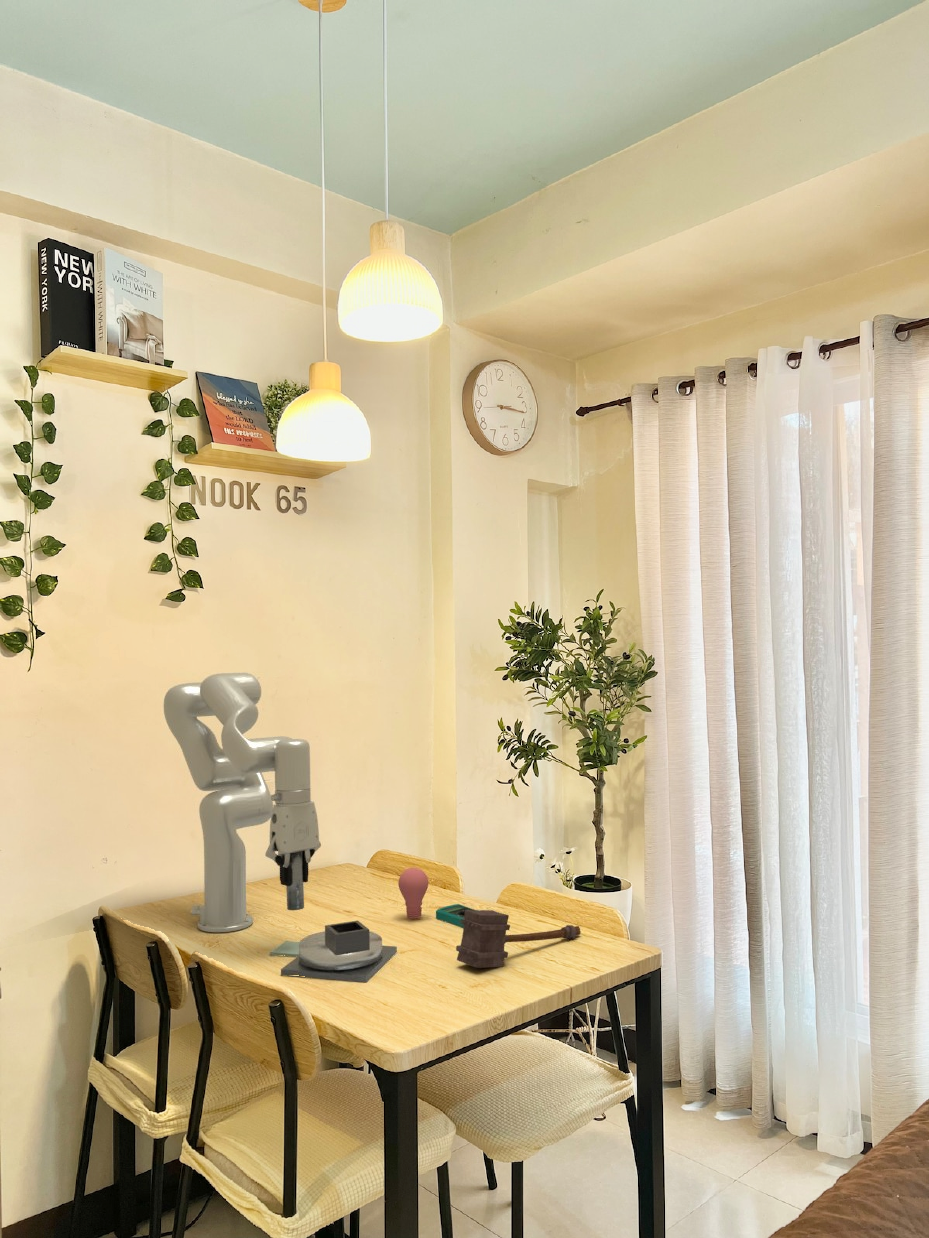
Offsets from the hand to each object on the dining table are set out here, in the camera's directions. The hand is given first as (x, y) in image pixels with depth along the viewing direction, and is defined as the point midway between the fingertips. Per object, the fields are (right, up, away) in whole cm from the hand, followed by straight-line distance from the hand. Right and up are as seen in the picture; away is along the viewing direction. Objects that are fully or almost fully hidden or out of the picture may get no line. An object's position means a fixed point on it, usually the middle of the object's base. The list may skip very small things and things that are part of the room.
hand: (294, 882), depth 197 cm
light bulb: (+25, -15, +22) cm, 36 cm away
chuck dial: (+11, -12, -9) cm, 19 cm away
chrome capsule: (0, -5, 0) cm, 5 cm away
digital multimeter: (+37, -15, +19) cm, 44 cm away
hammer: (+49, -14, -4) cm, 52 cm away
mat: (0, -15, 0) cm, 15 cm away
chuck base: (+11, -14, -9) cm, 20 cm away
